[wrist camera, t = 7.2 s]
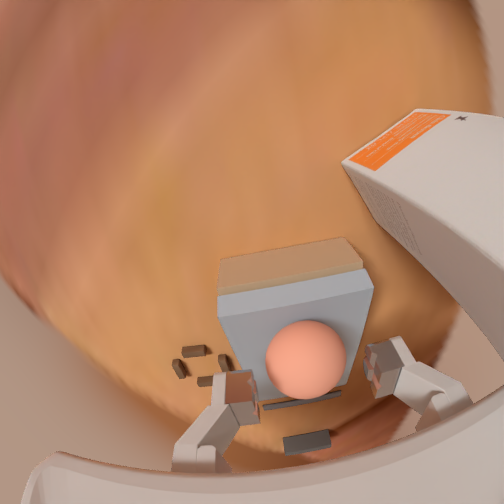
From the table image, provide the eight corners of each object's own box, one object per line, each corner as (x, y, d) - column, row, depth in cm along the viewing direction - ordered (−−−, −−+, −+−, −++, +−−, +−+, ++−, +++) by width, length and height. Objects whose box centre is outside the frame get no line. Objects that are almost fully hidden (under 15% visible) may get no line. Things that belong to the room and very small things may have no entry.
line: (262, 405, 22) (262, 406, 22) (340, 390, 22) (341, 391, 22) (264, 409, 22) (264, 410, 22) (340, 394, 22) (340, 395, 22)
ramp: (220, 259, 16) (214, 307, 12) (343, 236, 15) (374, 276, 11) (257, 389, 21) (260, 433, 17) (342, 373, 20) (356, 415, 17)
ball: (267, 345, 14) (272, 409, 12) (257, 311, 12) (263, 394, 9) (334, 335, 14) (346, 398, 12) (341, 298, 11) (360, 378, 9)
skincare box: (414, 105, 12) (613, 144, 1) (443, 167, 13) (606, 257, 3) (334, 162, 13) (535, 296, 3) (372, 223, 15) (515, 385, 4)
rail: (282, 437, 25) (284, 452, 24) (328, 429, 25) (331, 443, 23) (283, 441, 26) (285, 455, 24) (327, 432, 26) (330, 447, 24)
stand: (167, 348, 18) (165, 354, 18) (221, 342, 18) (220, 348, 18) (185, 382, 20) (184, 387, 20) (234, 377, 20) (234, 383, 20)
